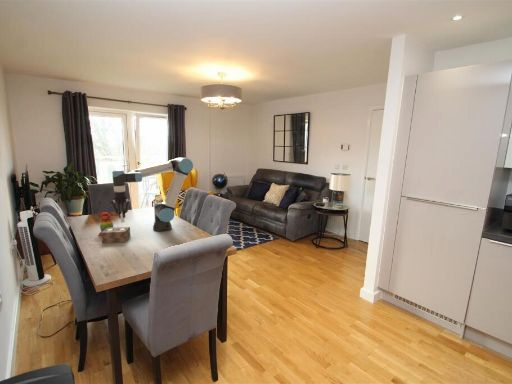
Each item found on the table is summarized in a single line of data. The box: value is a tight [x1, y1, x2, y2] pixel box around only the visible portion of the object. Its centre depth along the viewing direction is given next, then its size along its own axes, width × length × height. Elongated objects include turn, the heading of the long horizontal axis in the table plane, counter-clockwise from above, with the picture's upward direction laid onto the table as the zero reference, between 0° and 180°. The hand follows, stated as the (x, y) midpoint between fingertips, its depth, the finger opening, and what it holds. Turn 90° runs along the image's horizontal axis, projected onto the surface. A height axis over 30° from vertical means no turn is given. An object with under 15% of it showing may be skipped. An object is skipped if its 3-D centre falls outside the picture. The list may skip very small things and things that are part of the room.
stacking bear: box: [98, 211, 114, 237], centre depth 210 cm, size 11×10×18 cm
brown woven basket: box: [100, 226, 131, 244], centre depth 198 cm, size 16×12×8 cm
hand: (122, 222), depth 198 cm, fingers closed
